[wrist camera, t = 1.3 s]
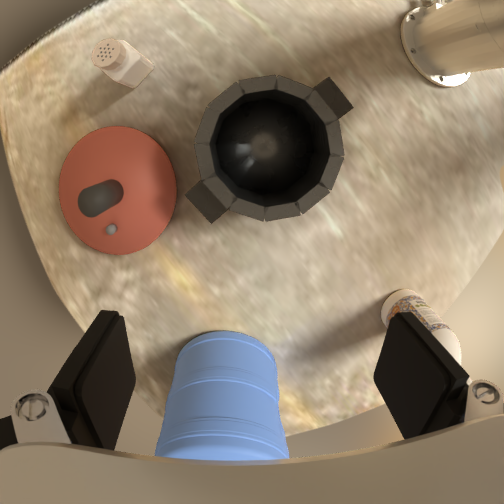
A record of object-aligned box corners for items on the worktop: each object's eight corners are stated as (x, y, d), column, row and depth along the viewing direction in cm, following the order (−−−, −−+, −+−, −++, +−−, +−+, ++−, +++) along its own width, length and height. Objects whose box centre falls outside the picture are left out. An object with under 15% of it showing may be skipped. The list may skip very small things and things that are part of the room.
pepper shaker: (157, 67, 32) (132, 47, 23) (134, 91, 33) (103, 78, 24) (136, 49, 31) (107, 27, 22) (115, 73, 32) (80, 58, 23)
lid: (68, 130, 34) (31, 131, 26) (182, 125, 35) (165, 121, 27) (72, 244, 39) (41, 267, 31) (178, 251, 40) (163, 279, 32)
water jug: (157, 362, 46) (113, 519, 20) (228, 308, 43) (218, 498, 17) (225, 411, 51) (220, 554, 25) (295, 369, 48) (328, 529, 21)
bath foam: (382, 290, 43) (450, 379, 24) (420, 284, 43) (496, 362, 24) (377, 329, 45) (432, 421, 27) (414, 322, 45) (476, 404, 27)
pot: (286, 56, 32) (297, 37, 24) (358, 144, 36) (385, 147, 28) (167, 155, 36) (148, 159, 28) (243, 238, 40) (243, 262, 32)
